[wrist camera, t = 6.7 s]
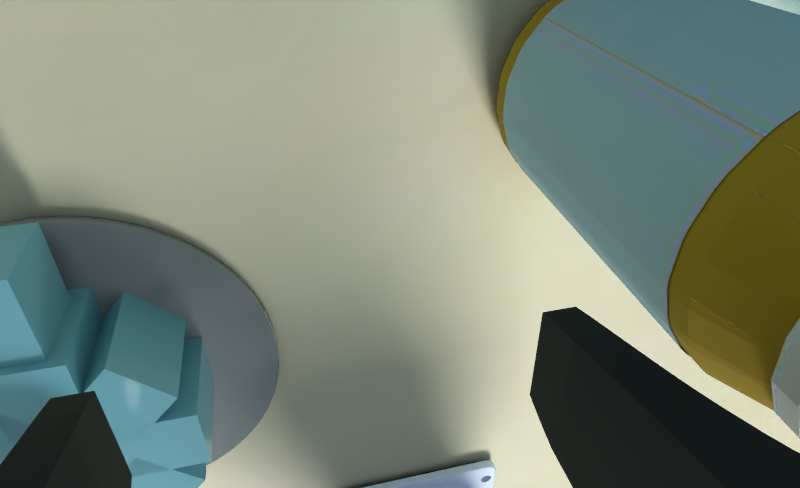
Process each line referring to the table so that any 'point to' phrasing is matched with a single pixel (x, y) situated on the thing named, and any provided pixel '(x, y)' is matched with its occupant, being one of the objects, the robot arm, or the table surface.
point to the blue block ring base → (132, 341)
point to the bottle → (676, 167)
